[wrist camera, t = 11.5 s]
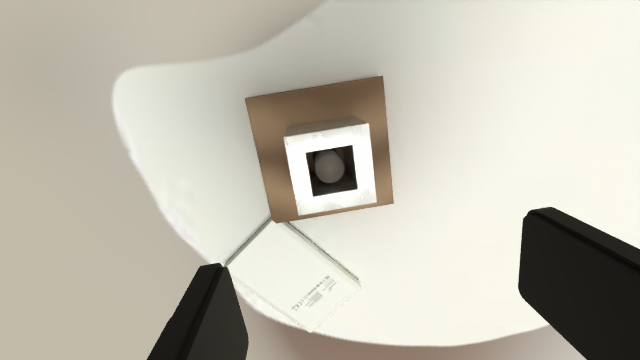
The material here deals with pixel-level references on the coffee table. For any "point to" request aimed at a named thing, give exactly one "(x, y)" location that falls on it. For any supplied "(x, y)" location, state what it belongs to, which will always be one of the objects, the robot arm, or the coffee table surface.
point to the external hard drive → (292, 274)
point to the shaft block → (328, 164)
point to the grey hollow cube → (358, 171)
